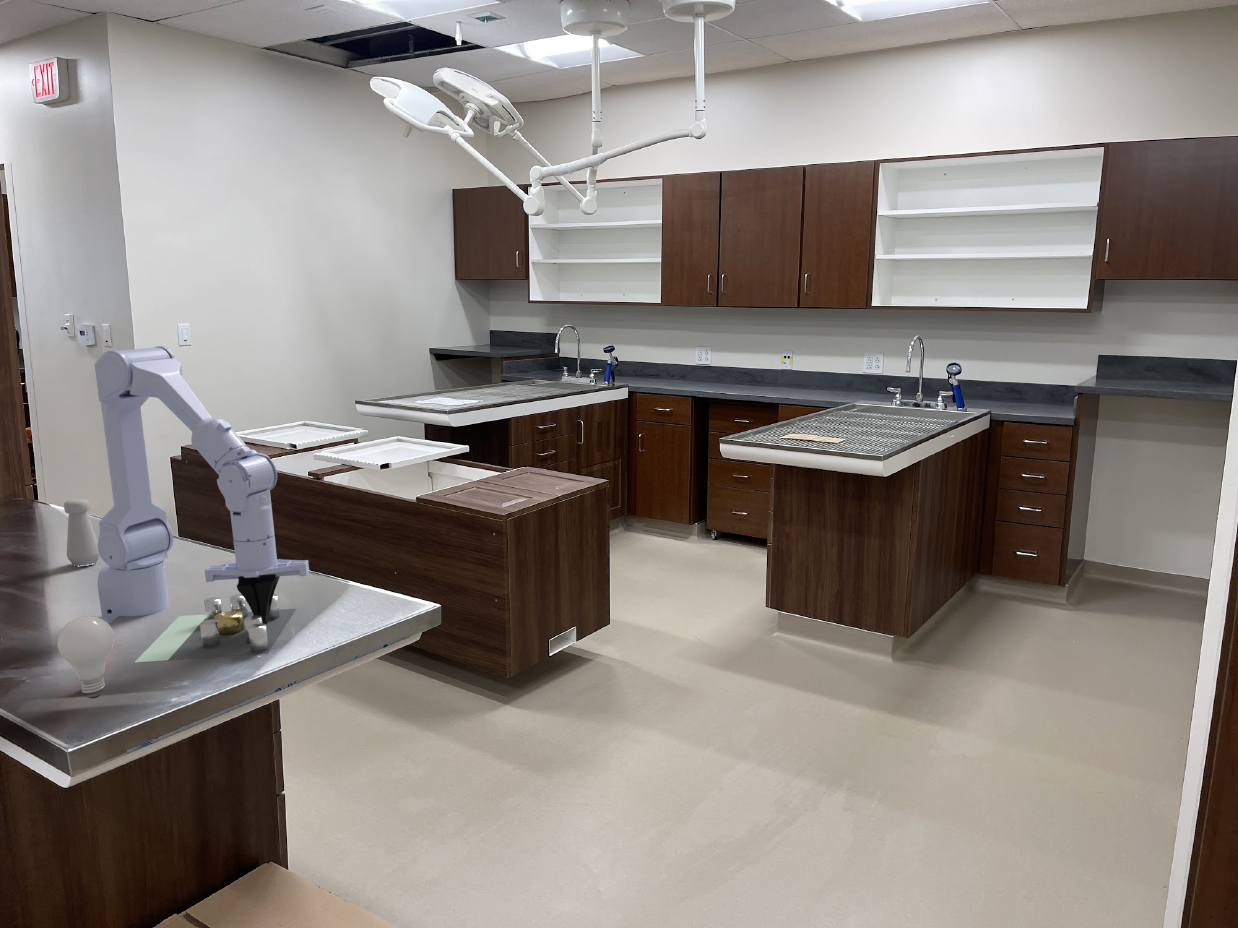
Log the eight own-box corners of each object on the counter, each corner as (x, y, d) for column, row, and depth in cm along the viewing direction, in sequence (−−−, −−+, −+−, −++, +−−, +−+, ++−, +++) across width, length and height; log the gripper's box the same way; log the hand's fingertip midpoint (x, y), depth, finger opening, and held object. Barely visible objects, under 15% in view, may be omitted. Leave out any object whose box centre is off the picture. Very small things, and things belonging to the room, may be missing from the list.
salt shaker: (108, 562, 177) (99, 498, 174) (78, 570, 172) (68, 504, 170) (92, 558, 180) (83, 495, 177) (62, 566, 175) (52, 501, 173)
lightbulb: (81, 687, 121) (69, 610, 119) (130, 685, 121) (119, 607, 119) (56, 709, 115) (43, 628, 112) (108, 706, 115) (96, 625, 113)
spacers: (174, 658, 127) (171, 635, 126) (211, 616, 143) (209, 595, 142) (266, 652, 128) (263, 629, 127) (292, 611, 144) (290, 590, 143)
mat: (135, 670, 126) (134, 662, 126) (180, 623, 144) (179, 616, 143) (268, 660, 128) (267, 652, 128) (297, 615, 146) (296, 608, 145)
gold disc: (211, 636, 135) (209, 621, 134) (220, 626, 138) (218, 611, 138) (239, 634, 135) (237, 619, 134) (247, 624, 139) (245, 610, 138)
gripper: (194, 547, 130) (205, 635, 132) (298, 541, 131) (306, 629, 134) (209, 533, 137) (219, 618, 139) (308, 528, 138) (316, 612, 141)
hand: (263, 622), depth 137 cm, fingers closed
